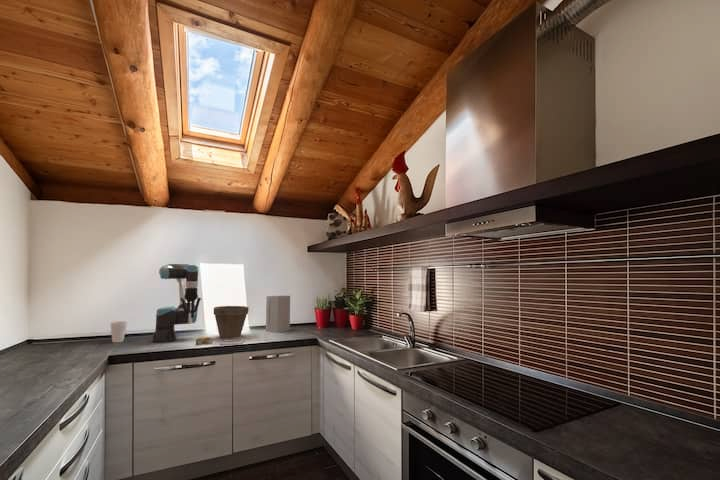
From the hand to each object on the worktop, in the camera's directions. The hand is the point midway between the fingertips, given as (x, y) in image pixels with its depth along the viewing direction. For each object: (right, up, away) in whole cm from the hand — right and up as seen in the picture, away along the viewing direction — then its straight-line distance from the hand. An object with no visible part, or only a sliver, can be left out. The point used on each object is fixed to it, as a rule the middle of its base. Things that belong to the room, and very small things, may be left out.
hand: (190, 322), depth 246 cm
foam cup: (-54, -15, +7) cm, 56 cm away
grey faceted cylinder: (+48, -19, +51) cm, 73 cm away
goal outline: (+28, -14, +2) cm, 31 cm away
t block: (+10, -14, 0) cm, 17 cm away
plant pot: (+18, -16, +27) cm, 36 cm away
